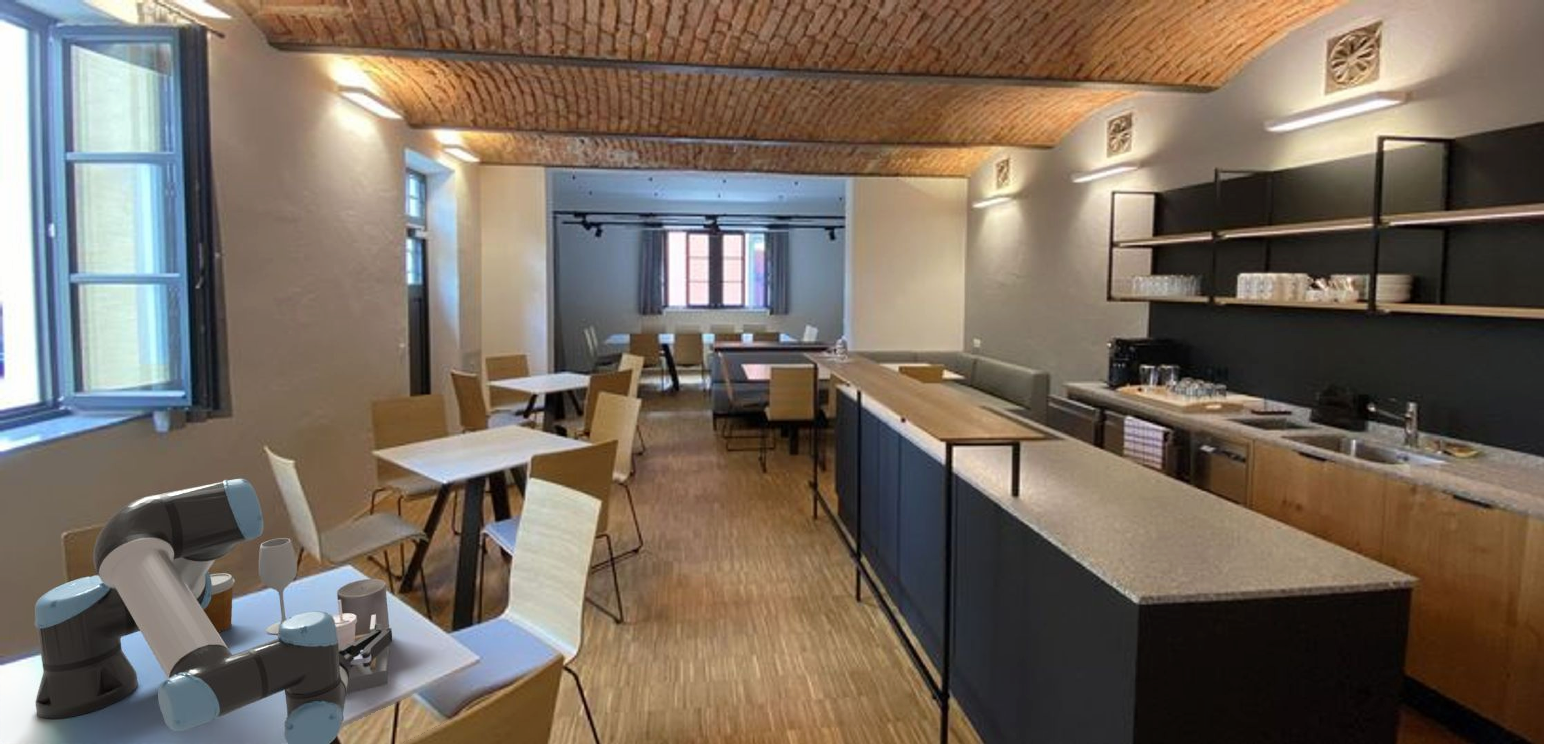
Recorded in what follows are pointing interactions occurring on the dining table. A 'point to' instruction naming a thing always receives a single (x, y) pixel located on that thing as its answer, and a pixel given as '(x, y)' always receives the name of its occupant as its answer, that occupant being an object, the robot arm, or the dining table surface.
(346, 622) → the smoothie
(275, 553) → the wineglass
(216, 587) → the disposable coffee cup
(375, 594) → the pillar candle
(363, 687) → the dock
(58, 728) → the dining table surface
